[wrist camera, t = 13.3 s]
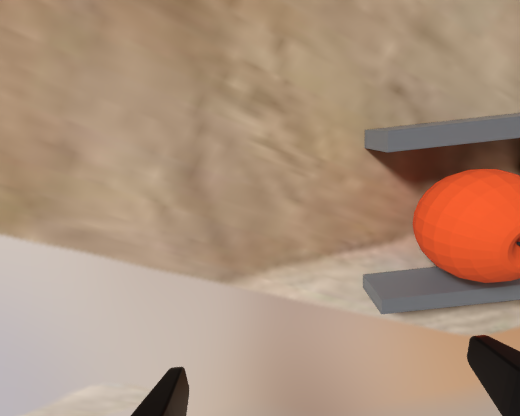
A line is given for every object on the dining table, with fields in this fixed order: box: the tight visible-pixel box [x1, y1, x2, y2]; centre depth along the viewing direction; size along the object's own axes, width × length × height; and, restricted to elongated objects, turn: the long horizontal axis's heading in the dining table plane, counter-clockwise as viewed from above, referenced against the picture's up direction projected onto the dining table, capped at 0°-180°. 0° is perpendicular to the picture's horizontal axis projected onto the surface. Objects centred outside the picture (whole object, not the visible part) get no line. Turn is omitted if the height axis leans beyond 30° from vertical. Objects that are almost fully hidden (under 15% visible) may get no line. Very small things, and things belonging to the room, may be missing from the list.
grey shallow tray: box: [363, 113, 520, 314], centre depth 17 cm, size 16×12×4 cm
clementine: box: [413, 169, 520, 283], centre depth 16 cm, size 8×7×7 cm
